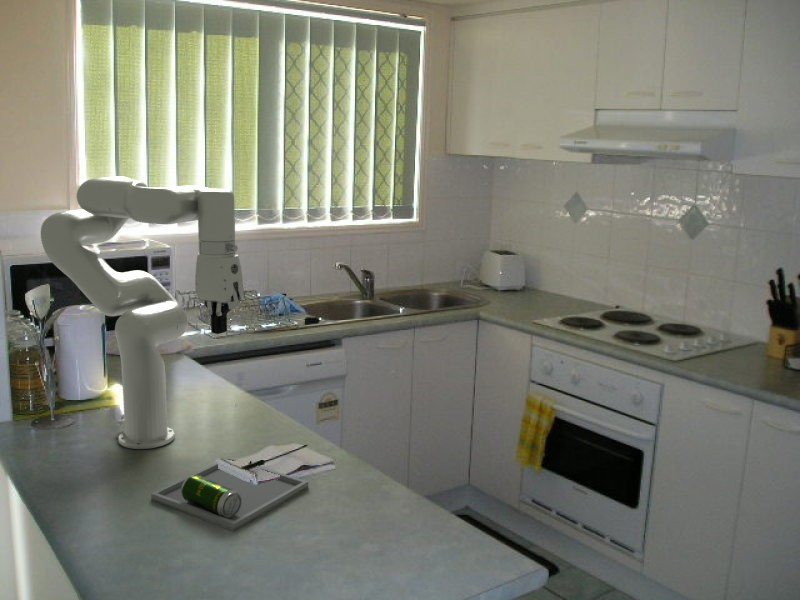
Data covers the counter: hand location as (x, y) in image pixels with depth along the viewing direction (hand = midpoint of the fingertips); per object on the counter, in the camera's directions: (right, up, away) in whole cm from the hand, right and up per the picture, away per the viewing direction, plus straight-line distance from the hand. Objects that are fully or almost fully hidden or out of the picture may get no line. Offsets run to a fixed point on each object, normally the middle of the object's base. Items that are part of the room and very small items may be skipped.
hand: (219, 332), depth 178 cm
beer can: (-2, -30, -15) cm, 34 cm away
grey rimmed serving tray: (+5, -32, -11) cm, 34 cm away
